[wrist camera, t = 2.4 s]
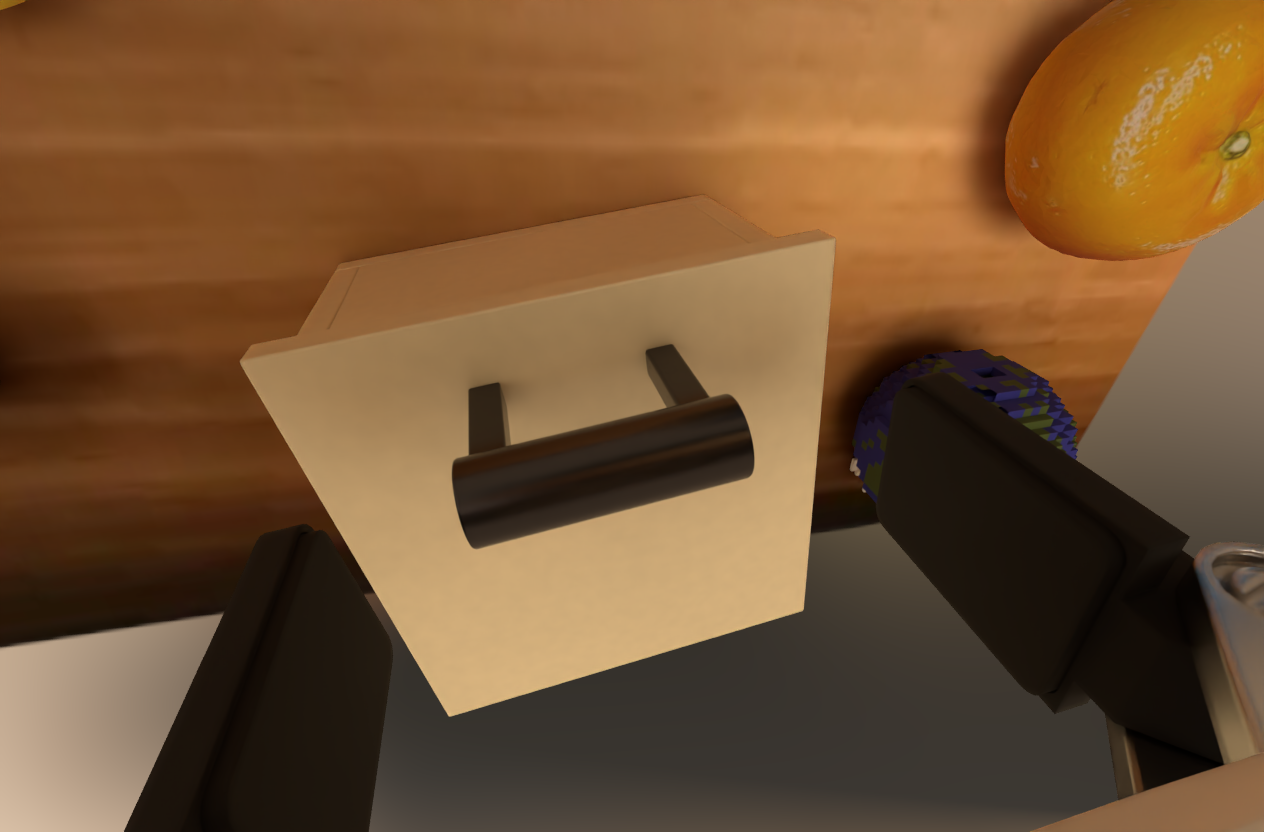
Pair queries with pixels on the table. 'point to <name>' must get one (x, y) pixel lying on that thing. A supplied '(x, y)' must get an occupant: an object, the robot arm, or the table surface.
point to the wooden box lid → (572, 460)
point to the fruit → (1142, 129)
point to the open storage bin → (525, 259)
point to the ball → (983, 375)
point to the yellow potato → (9, 3)
